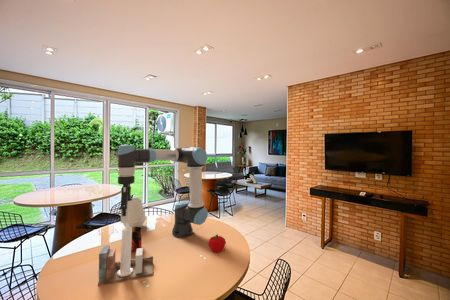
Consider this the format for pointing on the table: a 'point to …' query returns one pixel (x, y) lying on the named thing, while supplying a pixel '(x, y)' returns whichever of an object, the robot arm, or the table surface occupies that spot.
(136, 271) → the bookend
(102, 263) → the rack
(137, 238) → the mug
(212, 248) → the apple
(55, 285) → the table surface
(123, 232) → the white round flared column
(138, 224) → the vase
